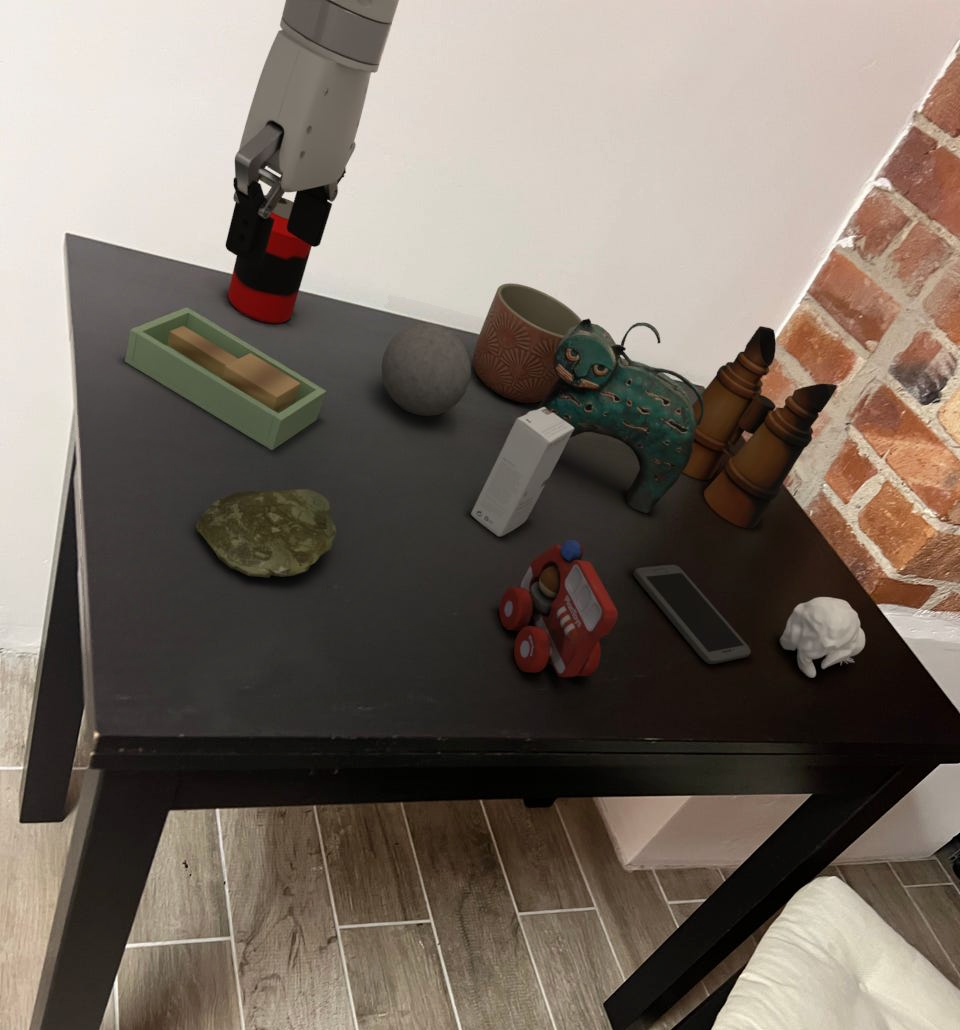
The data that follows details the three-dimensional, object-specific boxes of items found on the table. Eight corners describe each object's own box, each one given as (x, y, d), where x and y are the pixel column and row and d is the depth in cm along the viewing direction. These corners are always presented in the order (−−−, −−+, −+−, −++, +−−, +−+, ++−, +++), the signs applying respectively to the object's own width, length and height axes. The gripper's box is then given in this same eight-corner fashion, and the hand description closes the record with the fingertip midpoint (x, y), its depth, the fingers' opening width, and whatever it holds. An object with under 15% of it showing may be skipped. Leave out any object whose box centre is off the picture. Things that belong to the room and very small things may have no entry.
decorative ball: (462, 438, 105) (497, 363, 99) (384, 427, 100) (416, 347, 94) (434, 389, 111) (465, 315, 105) (359, 376, 106) (387, 297, 99)
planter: (473, 346, 124) (506, 272, 117) (554, 387, 126) (591, 316, 119) (455, 381, 115) (489, 303, 108) (542, 425, 116) (582, 350, 109)
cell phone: (673, 568, 104) (676, 563, 103) (750, 657, 97) (754, 652, 96) (629, 572, 99) (633, 567, 99) (707, 666, 92) (711, 661, 92)
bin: (124, 361, 89) (130, 328, 87) (180, 337, 96) (186, 306, 94) (271, 450, 88) (281, 420, 86) (316, 419, 95) (326, 390, 93)
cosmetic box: (500, 539, 94) (552, 444, 86) (466, 514, 94) (515, 417, 87) (527, 521, 98) (579, 428, 91) (495, 497, 99) (543, 403, 92)
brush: (157, 360, 90) (163, 328, 88) (184, 348, 94) (191, 317, 91) (268, 427, 90) (277, 397, 87) (291, 412, 93) (300, 383, 91)
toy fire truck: (549, 601, 89) (599, 521, 83) (591, 698, 82) (651, 618, 75) (487, 593, 86) (534, 509, 80) (525, 693, 78) (581, 609, 72)
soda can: (276, 293, 112) (302, 197, 104) (300, 327, 108) (330, 231, 101) (217, 285, 107) (240, 185, 100) (241, 321, 103) (267, 219, 96)
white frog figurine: (812, 582, 96) (871, 588, 103) (760, 637, 100) (819, 640, 108) (850, 626, 92) (908, 629, 100) (794, 681, 97) (853, 680, 104)
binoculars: (769, 527, 122) (866, 402, 110) (731, 529, 117) (829, 398, 105) (688, 442, 131) (769, 318, 119) (649, 441, 126) (731, 310, 114)
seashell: (176, 514, 74) (267, 432, 74) (202, 532, 81) (285, 456, 82) (261, 605, 73) (352, 521, 74) (280, 615, 81) (363, 538, 81)
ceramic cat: (503, 455, 106) (582, 299, 94) (510, 430, 111) (586, 279, 99) (653, 524, 109) (748, 382, 97) (652, 497, 114) (743, 359, 102)
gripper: (345, 6, 74) (287, 212, 84) (227, -6, 60) (175, 241, 70) (423, 53, 73) (356, 253, 84) (323, 51, 60) (257, 290, 70)
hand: (274, 247), depth 77 cm, fingers open, 9 cm apart
